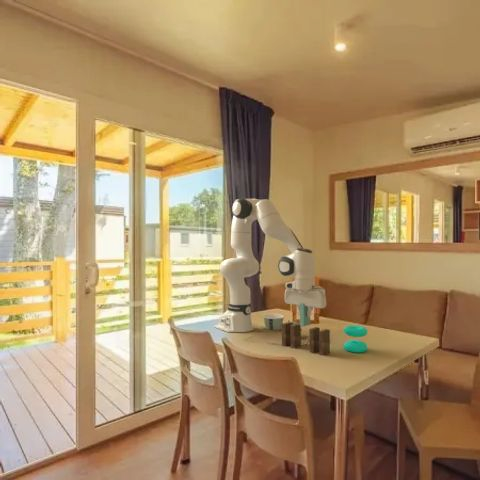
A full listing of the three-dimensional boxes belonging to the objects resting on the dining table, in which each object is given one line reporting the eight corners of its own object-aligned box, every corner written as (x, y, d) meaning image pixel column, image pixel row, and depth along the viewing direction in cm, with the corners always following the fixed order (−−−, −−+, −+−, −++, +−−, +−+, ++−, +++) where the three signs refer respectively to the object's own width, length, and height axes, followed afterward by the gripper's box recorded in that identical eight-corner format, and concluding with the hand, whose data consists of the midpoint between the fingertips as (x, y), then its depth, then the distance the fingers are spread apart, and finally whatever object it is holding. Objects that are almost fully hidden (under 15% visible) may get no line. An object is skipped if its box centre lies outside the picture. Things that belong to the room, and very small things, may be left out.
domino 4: (309, 352, 160) (309, 329, 160) (315, 349, 163) (315, 327, 163) (313, 353, 158) (313, 329, 158) (319, 350, 162) (319, 327, 162)
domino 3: (299, 325, 163) (299, 303, 163) (306, 323, 167) (306, 301, 166) (303, 326, 162) (303, 303, 162) (310, 324, 165) (309, 302, 165)
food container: (284, 330, 197) (284, 318, 197) (261, 330, 199) (261, 318, 199) (285, 325, 209) (284, 314, 209) (263, 325, 210) (263, 313, 210)
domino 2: (290, 347, 167) (290, 325, 166) (297, 345, 170) (297, 323, 170) (294, 348, 165) (294, 326, 165) (300, 346, 169) (300, 324, 169)
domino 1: (281, 345, 170) (281, 323, 170) (288, 343, 174) (288, 321, 174) (285, 346, 169) (285, 324, 169) (292, 343, 172) (291, 322, 172)
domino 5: (319, 354, 156) (319, 331, 156) (325, 352, 160) (325, 328, 160) (323, 355, 155) (323, 331, 155) (329, 352, 158) (329, 329, 158)
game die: (295, 343, 186) (306, 326, 187) (293, 341, 178) (305, 324, 180) (281, 333, 190) (292, 316, 191) (278, 330, 182) (290, 314, 183)
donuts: (362, 331, 155) (339, 327, 162) (362, 355, 155) (340, 350, 162) (370, 326, 163) (349, 323, 169) (371, 349, 163) (349, 345, 169)
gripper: (329, 286, 159) (329, 318, 159) (290, 282, 173) (290, 312, 173) (321, 287, 154) (321, 320, 154) (282, 283, 169) (282, 314, 169)
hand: (304, 316), depth 164 cm, fingers closed on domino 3, 2 cm apart
